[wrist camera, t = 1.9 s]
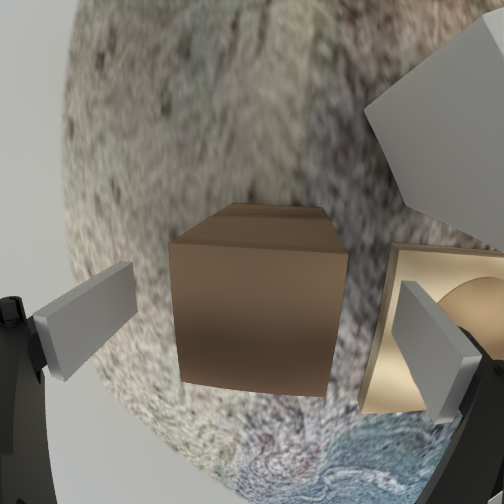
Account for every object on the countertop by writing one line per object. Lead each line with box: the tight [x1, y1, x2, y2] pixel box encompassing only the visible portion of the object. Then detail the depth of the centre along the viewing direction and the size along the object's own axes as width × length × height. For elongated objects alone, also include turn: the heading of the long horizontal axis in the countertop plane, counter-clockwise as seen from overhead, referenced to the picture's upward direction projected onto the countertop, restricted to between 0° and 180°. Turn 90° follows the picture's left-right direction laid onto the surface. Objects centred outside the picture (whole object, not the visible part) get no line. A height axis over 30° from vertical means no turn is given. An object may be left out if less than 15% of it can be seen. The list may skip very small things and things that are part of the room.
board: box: [358, 242, 504, 414], centre depth 20 cm, size 14×16×2 cm
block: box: [169, 203, 348, 397], centre depth 16 cm, size 6×6×11 cm
